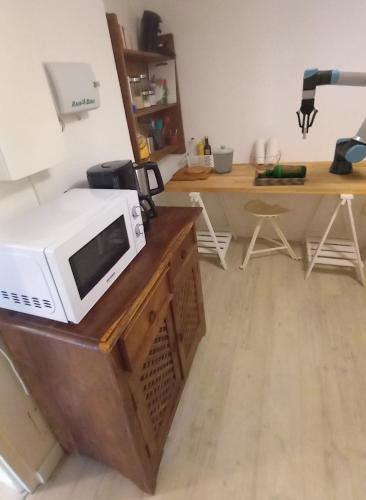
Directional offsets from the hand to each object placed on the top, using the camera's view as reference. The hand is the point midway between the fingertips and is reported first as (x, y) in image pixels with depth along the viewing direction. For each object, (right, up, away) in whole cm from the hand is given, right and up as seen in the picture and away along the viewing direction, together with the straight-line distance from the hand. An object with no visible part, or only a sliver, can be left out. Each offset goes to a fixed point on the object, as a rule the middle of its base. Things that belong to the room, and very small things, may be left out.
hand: (304, 138), depth 189 cm
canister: (-45, -7, +52) cm, 69 cm away
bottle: (+6, -19, +12) cm, 23 cm away
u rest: (-11, -23, +18) cm, 31 cm away
